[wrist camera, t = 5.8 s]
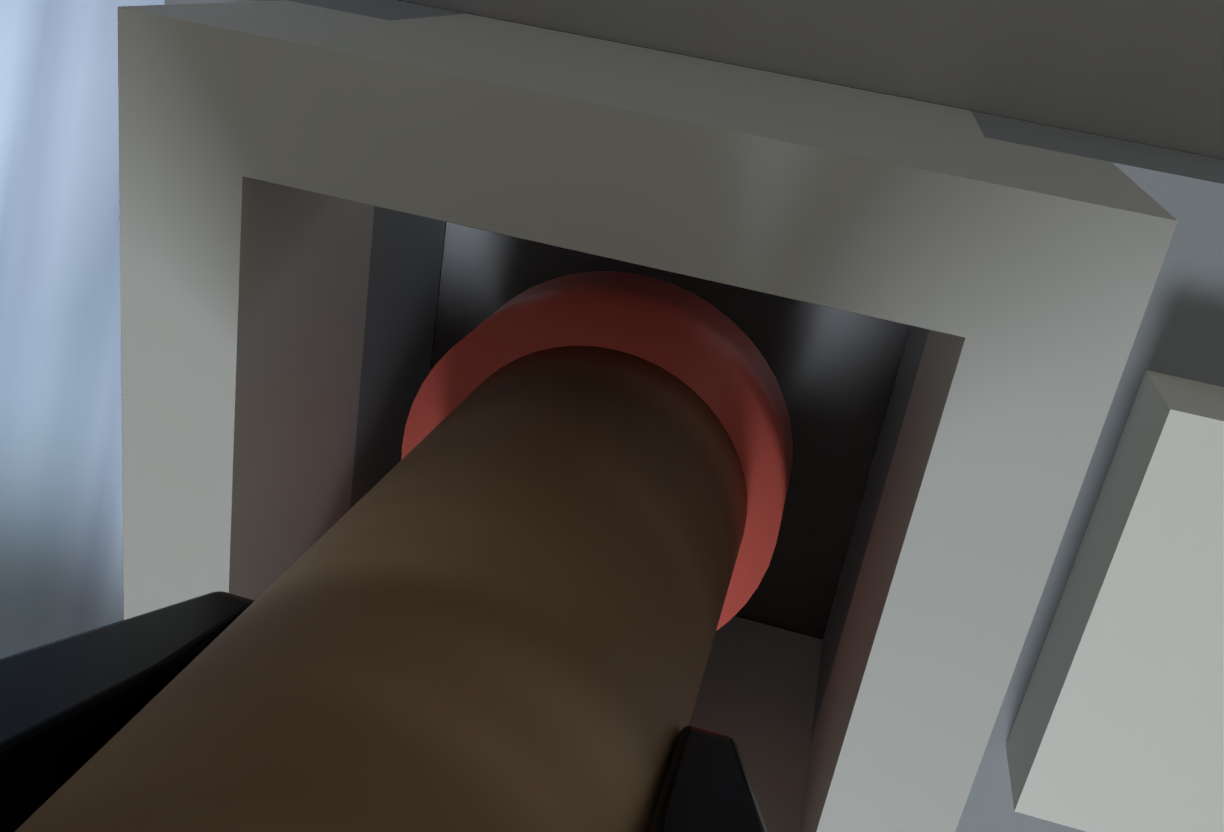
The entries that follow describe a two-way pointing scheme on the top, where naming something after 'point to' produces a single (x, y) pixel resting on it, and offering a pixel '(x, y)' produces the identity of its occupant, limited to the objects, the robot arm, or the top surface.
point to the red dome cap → (664, 335)
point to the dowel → (462, 632)
